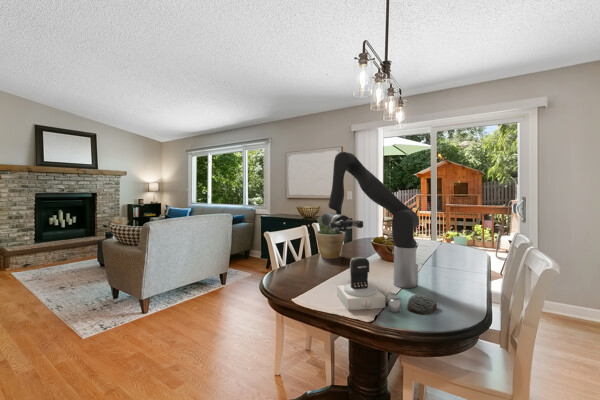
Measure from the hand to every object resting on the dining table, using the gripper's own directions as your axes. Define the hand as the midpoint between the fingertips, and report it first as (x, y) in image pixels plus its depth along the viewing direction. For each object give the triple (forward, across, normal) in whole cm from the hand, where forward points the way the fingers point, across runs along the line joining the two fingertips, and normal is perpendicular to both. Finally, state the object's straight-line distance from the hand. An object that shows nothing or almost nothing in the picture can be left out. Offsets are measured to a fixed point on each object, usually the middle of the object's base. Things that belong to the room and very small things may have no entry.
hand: (351, 226), depth 117 cm
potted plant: (-61, +5, +26) cm, 66 cm away
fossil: (+18, +19, +29) cm, 39 cm away
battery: (+10, -1, +23) cm, 25 cm away
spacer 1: (+15, +9, +28) cm, 33 cm away
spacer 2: (+20, +8, +28) cm, 36 cm away
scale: (+10, -1, +28) cm, 29 cm away
